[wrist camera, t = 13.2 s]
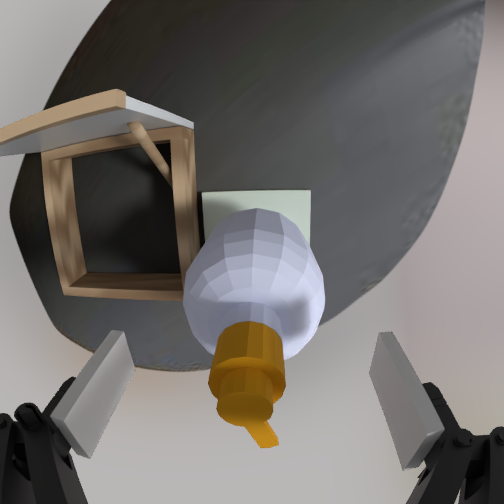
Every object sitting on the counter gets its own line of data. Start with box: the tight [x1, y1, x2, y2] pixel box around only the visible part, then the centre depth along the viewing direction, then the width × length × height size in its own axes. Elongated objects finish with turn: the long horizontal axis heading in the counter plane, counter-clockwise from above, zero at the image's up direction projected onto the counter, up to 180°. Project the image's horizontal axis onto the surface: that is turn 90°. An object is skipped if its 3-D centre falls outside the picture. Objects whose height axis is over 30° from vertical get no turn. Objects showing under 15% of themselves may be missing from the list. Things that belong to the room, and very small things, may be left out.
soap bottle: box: [183, 208, 325, 448], centre depth 23 cm, size 10×10×24 cm
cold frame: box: [41, 121, 201, 301], centre depth 29 cm, size 19×18×12 cm
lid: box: [0, 89, 194, 156], centre depth 22 cm, size 1×19×19 cm, turn 92°
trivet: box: [202, 190, 311, 246], centre depth 35 cm, size 12×12×1 cm
